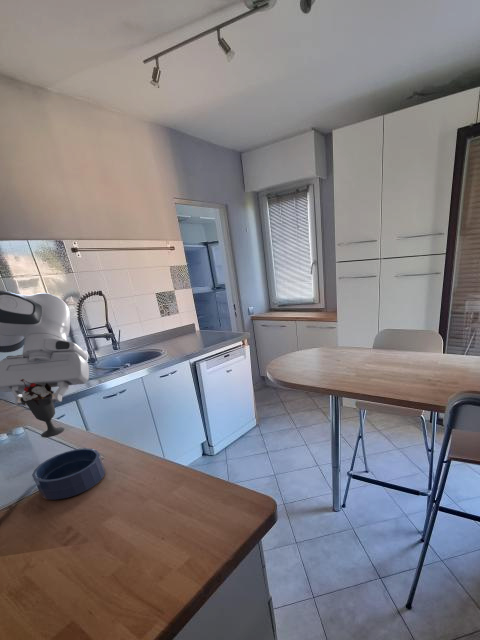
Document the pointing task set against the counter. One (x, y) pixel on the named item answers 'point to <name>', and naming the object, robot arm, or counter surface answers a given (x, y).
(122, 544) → the counter surface
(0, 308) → the robot arm
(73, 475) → the basin
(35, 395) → the sundae
